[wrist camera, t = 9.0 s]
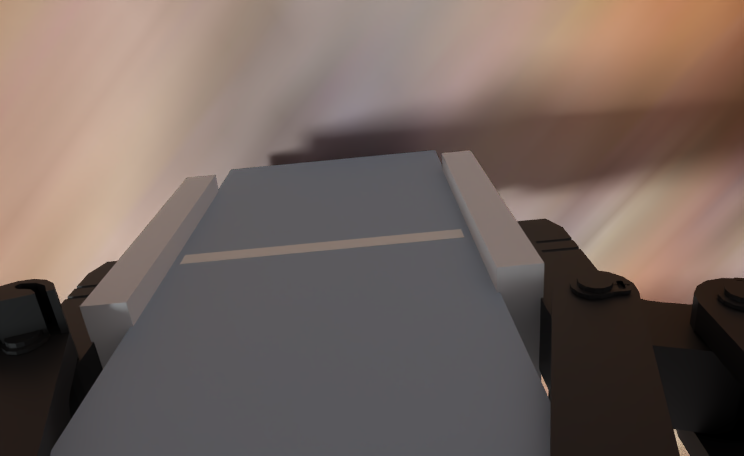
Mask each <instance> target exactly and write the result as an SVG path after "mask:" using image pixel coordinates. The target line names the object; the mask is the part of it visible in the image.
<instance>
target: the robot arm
mask: <svg viewBox="0 0 744 456" xmlns="http://www.w3.org/2000/svg"><path fill="white" fill-rule="evenodd" d="M442 170H443V172H444V174H445V177H446V179H447V181H448V183H449V186H450V188H451V190H452V192H453V195H454V197H455V199H456V201H457V204H458V206H459V208H460V210H461V213H462V215H463V217H464V219H465V222H466V224H467V226H468V228H469V231H470V233H471V235H472V237H473V240H474V242H475V244H476V246H477V249H478V251H479V253H480V255H481V258H482V260H483V262H484V264H485V267H486V269H487V271H488V273H489V276H490V278H491V280H492V282H493V285H494V287H495V289H496V291H497V293H498V292H500V293H501V295H502V297H503V300H504V302H505V304H506V306H507V308H508V311H509V313H510V315H511V317H512V319H513V321H514V324H515V326H516V328H517V330H518V332H519V335H520V337H521V339H522V341H523V343H524V345H525V348H526V350H527V352H528V354H529V356H530V359H531V361H532V363H533V365H534V367H535V369H536V372H537V374H538V376H539V378H540V380H541V374H542V377H543V379H544V381H545V383H546V385H547V387H548V390H549V394H548V398H549V400H550V402H551V411H550V456H680V454H679V450H678V446H677V442H676V438H675V434H674V430H673V429H676V430H677V434H678V437H679V438H680V440H681V442H682V443H683V445H684V446H685V448H686V450H687V451H688V453H689V455H690V456H744V278H733V279H732V278H720V279H714V280H708V281H705V282H703V283H702V284H700V285H698V286H697V287H696V290H695V292H694V297H693V304H692V305H689V304H676V303H663V302H655V301H648V300H643V299H641V298H640V294H639V291H638V289H637V288H636V286H635V285H634V283H632V282H630V281H629V280H627V279H626V278H624V277H622V276H619V275H616V274H613V273H610V272H604V271H598V270H597V269H596V267H595V266H594V265H593V264H592V263H591V261H590V260H589V259H588V258H587V256H586V255H585V254H584V253H583V252H582V250H581V249H579V247H578V245H577V244H576V243H575V242H574V241H573V240H571V237H570V236H569V235H568V233H567V232H566V231H565V230H564V228H563V227H561V226H559V225H557V224H555V223H553V222H551V221H549V220H547V219H537V220H527V221H516V219H515V218H514V216H513V214H512V213H511V211H510V210H509V208H508V207H507V205H506V204H505V202H504V201H503V199H502V198H501V196H500V195H499V193H498V192H497V190H496V189H495V187H494V185H493V184H492V182H491V181H490V179H489V178H488V176H487V175H486V173H485V172H484V170H483V169H482V167H481V166H480V164H479V163H478V161H477V160H476V158H475V156H474V155H473V153H472V152H471V150H469V151H458V152H448V153H442ZM218 192H219V190H218V185H217V180H216V175H209V176H199V177H189V178H186V179H185V181H184V182H183V183H182V184H181V185H180V187H179V188H178V189H177V190H176V191H175V193H174V194H173V195H172V196H171V197H170V199H169V200H168V201H167V202H166V203H165V205H164V206H163V207H162V208H161V209H160V211H159V212H158V213H157V214H156V215H155V217H154V218H153V219H152V220H151V221H150V223H149V224H148V225H147V226H146V227H145V229H144V230H143V231H142V232H141V233H140V235H139V236H138V237H137V238H136V239H135V241H134V242H133V243H132V244H131V245H130V247H129V248H128V249H127V250H126V251H125V253H124V254H123V255H122V256H121V257H120V259H119V260H118V261H112V262H107V263H105V264H103V265H102V266H100V267H98V268H97V269H95V270H94V271H92V272H90V273H89V274H88V275H87V276H86V277H85V278H84V279H83V280H82V281H81V283H80V284H79V285H78V286H77V289H74V290H73V291H72V293H71V294H70V295H69V296H68V299H65V300H64V301H63V303H62V304H60V301H59V298H58V295H57V292H56V289H55V286H54V284H53V283H52V282H50V281H48V280H40V279H31V280H24V281H17V282H14V283H10V284H7V285H3V286H0V456H50V454H51V450H52V448H53V447H54V445H55V444H56V442H57V440H58V439H59V437H60V436H61V434H62V433H63V431H64V429H65V428H66V426H67V425H68V423H69V422H70V420H71V419H72V417H73V415H74V414H75V412H76V411H77V409H78V408H79V406H80V405H81V403H82V401H83V400H84V398H85V397H86V395H87V394H88V392H89V390H90V389H91V387H92V386H93V384H94V383H95V381H96V380H97V378H98V376H99V375H100V373H101V372H102V370H103V369H104V367H105V366H106V364H107V362H108V361H109V359H110V358H111V356H112V355H113V353H114V352H115V350H116V348H117V347H118V345H119V344H120V342H121V341H122V339H123V337H124V336H125V334H126V333H127V331H128V330H129V328H130V327H133V326H134V325H135V323H136V321H137V320H138V318H139V317H140V315H141V314H142V312H143V310H144V309H145V307H146V306H147V304H148V302H149V301H150V299H151V298H152V296H153V295H154V293H155V291H156V290H157V288H158V287H159V285H160V283H161V282H162V280H163V279H164V277H165V276H166V274H167V272H168V271H169V269H170V268H171V266H172V264H173V263H174V261H175V260H176V258H177V257H178V255H179V253H180V252H181V250H182V249H183V247H184V246H185V244H186V242H187V241H188V239H189V238H190V236H191V234H192V233H193V231H194V230H195V228H196V227H197V225H198V223H199V222H200V220H201V219H202V217H203V215H204V214H205V212H206V211H207V209H208V208H209V206H210V204H211V203H212V201H213V200H214V198H215V197H216V195H217V193H218Z"/></svg>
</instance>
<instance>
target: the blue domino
mask: <svg viewBox="0 0 744 456" xmlns="http://www.w3.org/2000/svg"><path fill="white" fill-rule="evenodd" d="M218 190H219V192H218V193H217V195H216V197H215V198H214V200H213V201H212V203H211V204H210V206H209V208H208V209H207V211H206V212H205V214H204V215H203V217H202V219H201V220H200V222H199V223H198V225H197V227H196V228H195V230H194V231H193V233H192V234H191V236H190V238H189V239H188V241H187V242H186V244H185V246H184V247H183V249H182V250H181V252H180V253H179V255H178V257H177V258H176V260H175V261H174V263H173V264H172V266H171V268H170V269H169V271H168V272H167V274H166V276H165V277H164V279H163V280H162V282H161V283H160V285H159V287H158V288H157V290H156V291H155V293H154V295H153V296H152V298H151V299H150V301H149V302H148V304H147V306H146V307H145V309H144V310H143V312H142V314H141V315H140V317H139V318H138V320H137V321H136V323H135V325H134V326H133V327H130V328H129V330H128V331H127V333H126V334H125V336H124V337H123V339H122V341H121V342H120V344H119V345H118V347H117V348H116V350H115V352H114V353H113V355H112V356H111V358H110V359H109V361H108V362H107V364H106V366H105V367H104V369H103V370H102V372H101V373H100V375H99V376H98V378H97V380H96V381H95V383H94V384H93V386H92V387H91V389H90V390H89V392H88V394H87V395H86V397H85V398H84V400H83V401H82V403H81V405H80V406H79V408H78V409H77V411H76V412H75V414H74V415H73V417H72V419H71V420H70V422H69V423H68V425H67V426H66V428H65V429H64V431H63V433H62V434H61V436H60V437H59V439H58V440H57V442H56V444H55V445H54V447H53V448H52V450H51V454H50V456H550V411H551V402H550V400H549V398H548V396H547V394H546V391H545V389H544V387H543V385H542V383H541V380H540V378H539V376H538V374H537V372H536V369H535V367H534V365H533V363H532V361H531V359H530V356H529V354H528V352H527V350H526V348H525V345H524V343H523V341H522V339H521V337H520V335H519V332H518V330H517V328H516V326H515V324H514V321H513V319H512V317H511V315H510V313H509V311H508V308H507V306H506V304H505V302H504V300H503V297H502V295H501V293H500V292H498V293H497V291H496V289H495V287H494V285H493V282H492V280H491V278H490V276H489V273H488V271H487V269H486V267H485V264H484V262H483V260H482V258H481V255H480V253H479V251H478V249H477V246H476V244H475V242H474V240H473V237H472V235H471V233H470V231H469V228H468V226H467V224H466V222H465V219H464V217H463V215H462V213H461V210H460V208H459V206H458V204H457V201H456V199H455V197H454V195H453V192H452V190H451V188H450V186H449V183H448V181H447V179H446V177H445V174H444V172H443V170H442V164H441V162H440V160H439V158H438V155H437V153H436V151H435V150H430V151H419V152H409V153H398V154H388V155H378V156H367V157H357V158H346V159H336V160H326V161H315V162H305V163H294V164H284V165H274V166H263V167H253V168H242V169H232V170H231V171H230V172H229V174H228V175H227V177H226V178H225V180H224V182H223V183H222V185H221V186H220V188H219V189H218Z"/></svg>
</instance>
